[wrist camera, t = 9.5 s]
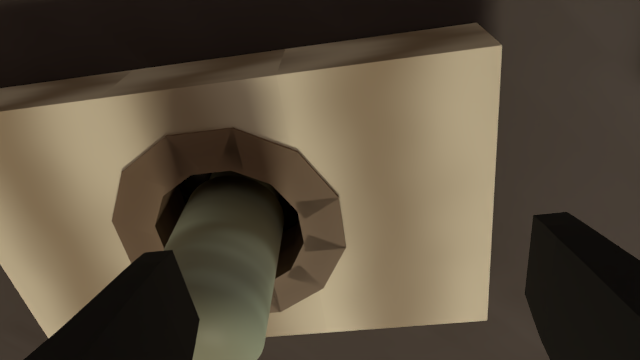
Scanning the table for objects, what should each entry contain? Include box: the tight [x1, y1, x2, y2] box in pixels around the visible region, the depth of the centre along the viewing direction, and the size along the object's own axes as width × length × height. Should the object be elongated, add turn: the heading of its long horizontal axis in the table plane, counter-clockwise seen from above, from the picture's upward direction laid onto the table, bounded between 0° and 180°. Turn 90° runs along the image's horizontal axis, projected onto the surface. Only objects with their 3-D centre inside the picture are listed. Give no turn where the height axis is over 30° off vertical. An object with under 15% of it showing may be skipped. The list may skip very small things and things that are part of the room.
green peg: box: [163, 171, 284, 360], centre depth 17 cm, size 4×4×8 cm
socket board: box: [0, 23, 502, 338], centre depth 19 cm, size 20×12×3 cm, turn 98°
